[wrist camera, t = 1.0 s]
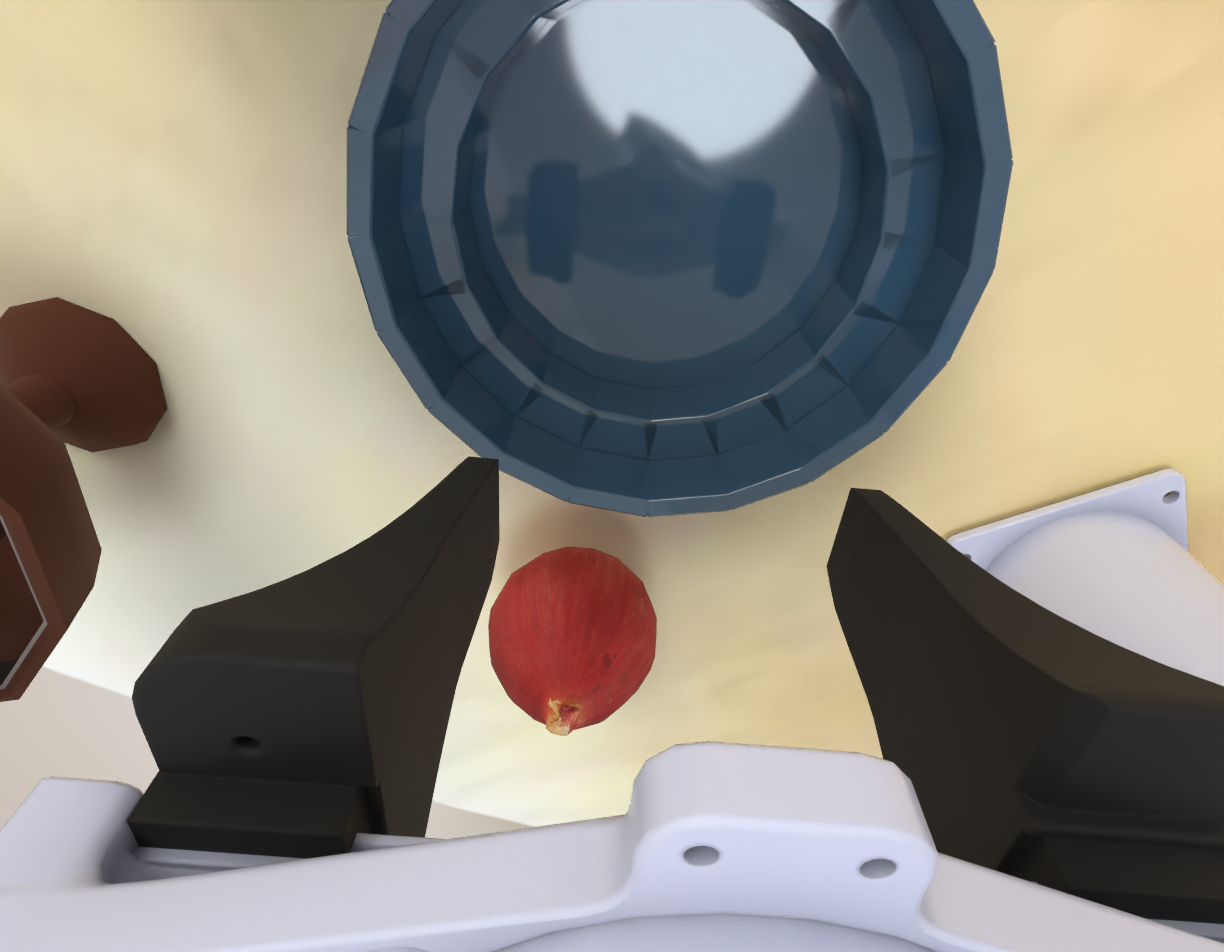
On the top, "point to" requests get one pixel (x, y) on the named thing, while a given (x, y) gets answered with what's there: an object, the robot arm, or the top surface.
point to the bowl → (675, 230)
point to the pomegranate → (572, 637)
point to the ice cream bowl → (57, 465)
